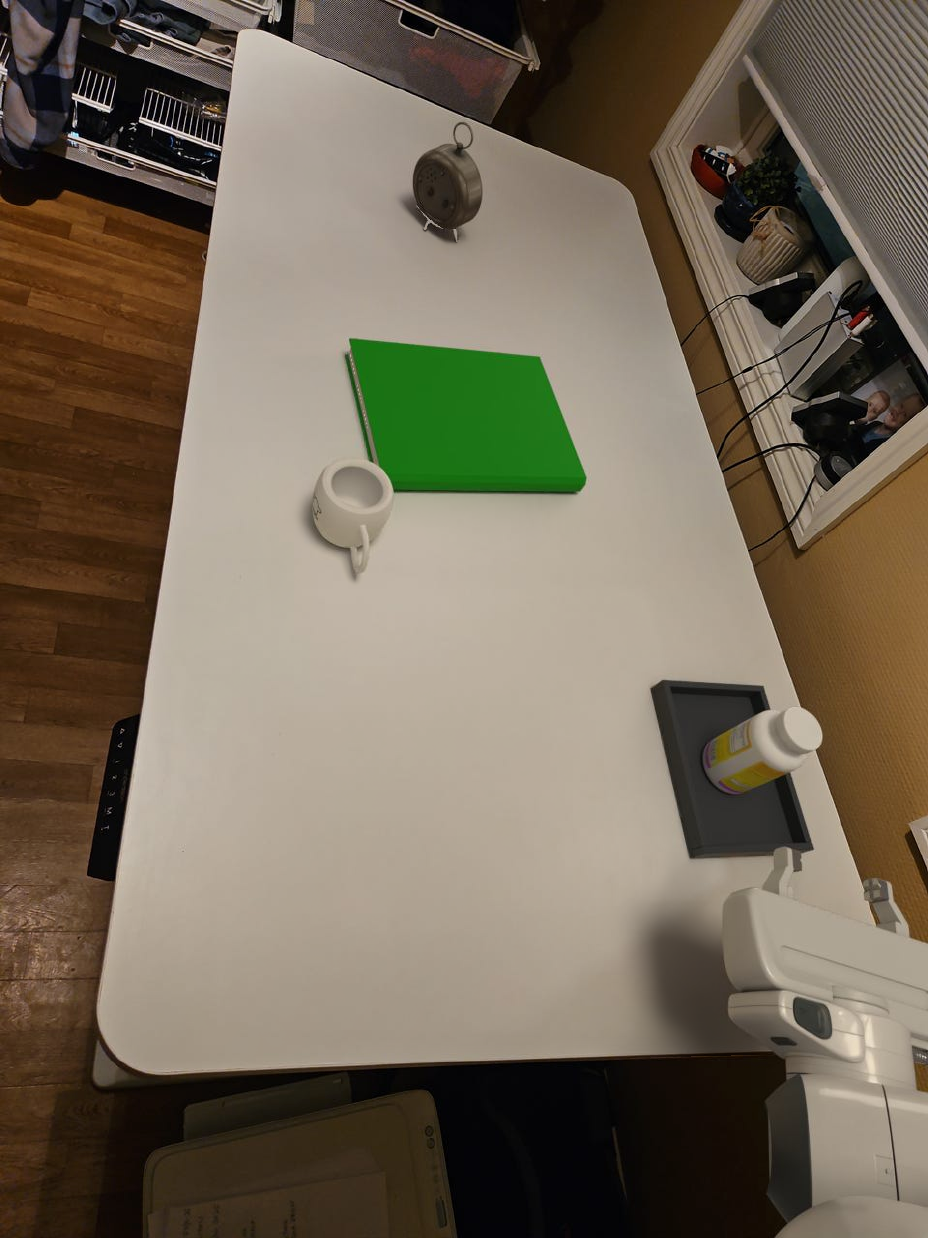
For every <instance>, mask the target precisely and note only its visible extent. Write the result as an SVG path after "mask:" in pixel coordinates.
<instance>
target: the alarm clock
mask: <svg viewBox="0 0 928 1238" xmlns="http://www.w3.org/2000/svg"><path fill="white" fill-rule="evenodd" d="M461 125H463V126H465V127H467V128H468V130H469V132H470V142H469V144H468V145H466V146H464V143H462V142H461V141H460V142H459V141H458V140H457V138H456V137H457V136H456V130H457V129H458V127H459V126H461ZM452 135H453V136H452V137H453V141H454V142H455V144H454V143H444V144H441V145H439V146H437V147H435V148H431V149H429V150H427V151H426V152H423V154H422V155H421V156H420V157H419V158H418V160H417V162H416V163H415V166H414V168H413V174H412V192H413V197H414V200H415V203H416V205H417V206H418V207H419V208H420V210H421V211H422V212H423V213H424V214H425V215H426V216H427V217H428V218H429V219H430V220H432V221H433V222H434V223H435V224H437V225H438V226H440V227H441V228H443V229H445V230H444V231H453V229H456V228H457V229H458V228H460V227H461V226H463V225H465V224H467V223H470V222H471V221H472V220H473V219H475V217H476V216H477V214H478V213H479V211H480V209H481V206H482V202H483V190H484V189H483V181H482V176H481V174H480V171H479V168H478V166H477V164H476V161H475V160H474V159H473V157H472V156H471V155H470V154H469V152H468V151H466V149H468V148H470V147H471V145H472V144H473V141H474V133H473V129H472V127H471V126H470V125H469V123H467V122H466V121H459V122H457V123H456V124H455V125H454V127H453V131H452ZM420 210H419V211H420ZM421 211H420V212H421Z"/></svg>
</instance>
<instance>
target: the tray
mask: <svg viewBox="0 0 928 1238" xmlns="http://www.w3.org/2000/svg"><path fill="white" fill-rule="evenodd" d="M650 691H651V696H652V700H653V705H654V708H655V713H656V717H657V722H658V726H659V730H660V735H661V739H662V743H663V748H664V752H665V757H666V761H667V765H668V770H669V774H670V778H671V783H672V786H673V791H674V795H675V799H676V805H677V808H678V812H679V817H680V823H681V825H682V830H683V834H684V839H685V844H686V847H687V851H688V856H689V859H690V860H692V859H693V860H694V859H717V858H719V859H720V858H721V859H722V858H742V857H743V858H744V857H746V858H747V857H769V856H770V857H771V856H773V857H774V855H773V853H774V851H775V849H777V848H780V847H784V846H785V847H788V848H791V849H794V850H796V851H799V852H800V853H801V854H805V853H808V852H812V851H814V850H815V848H814V844H813V842H812V841H813V840H812V838H811V834H810V831H809V828H808V825H807V822H806V818H805V816H804V815H805V814H804V813H803V809H802V806H801V802H800V800H799V796H798V793H797V789H796V787H795V784H794V780H793V776H792V772H789V773H787V774H785V775H782V776H780V777H778V778H776V779H774V780H771V781H769V782H767V783H764V784H762V785H760V786H758V787H755V788H753V789H751V790H748V791H746V792H743V793H741V794H729V793H726V792H724V791H722V790H720V789H719V788H717V787H716V786H715V785H714V784H713V783H712V782H711V781H710V779H709V778H708V776H707V774H706V772H705V770H704V767H703V761H702V756H703V751H704V749H705V747H706V745H707V744H708V743H709V742H710V741H711V740H713V739H715V738H716V737H718V736H720V735H722V734H723V733H725V732H727V731H728V730H730V729H732V728H734V727H736V726H737V725H739V724H741V723H743V722H745V721H747V720H748V719H750V718H752V717H754V716H755V715H757V714H759V713H761V712H763V711H767V710H772V709H771V707H770V702H769V700H768V697H767V693H766V690H765V687H764V685H759V684H743V683H742V684H741V683H726V682H725V683H723V682H707V681H693V680H692V681H690V680H676V679H675V680H674V679H673V680H672V679H661V680H660V681H659V682H657V683H656V684H655V685H653V686H652V687H650Z"/></svg>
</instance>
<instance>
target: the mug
mask: <svg viewBox="0 0 928 1238" xmlns="http://www.w3.org/2000/svg"><path fill="white" fill-rule="evenodd" d="M394 500H395V493H394V490H393V487H392V484H391V481H390V479H389V477H388V476H387V475H386V473H385V472H384V471H383V470H382V469H381V468H380V467H378V466H377V465H375V464H374V463H372V462H370V460H369V459H368V460H367V459H365V458H360V457H355V456H346V457H341V458H337V459H336V460H333V461H332V462H330V463H329V464H328V465H326V466H325V468H324V469H322V471H321V473H320V474H319V476H318V478H317V480H316V483H315V485H314V489H313V494H312V501H311V502H312V503H311V508H312V509H311V510H312V517H313V521H314V524H315V526H316V528H317V531H318V532H319V533H320V535H321V536H322V537H323V539H325V540H326V541H328V542H329V543H331V544H333V545H335V546H337V547H341V548H347V549H348V548H349V549H350V557H351V563H352V566H353V569H354V572H355V573H358V574H363V573H364V572H365V571H366V569H367V567H368V564H369V559H370V550H371V549H370V545H371V543H370V542H371V541H372V540H374V539H375V538H376V537H377V536H378V535H379V534H380V533H381V532H382V530H383V529H384V527H385V526H386V524H387V522H388V520H389V517H390V515H391V512H392V509H393V504H394ZM358 547H362V556H361V560H360V561H361V562H360V563H359V557H358Z"/></svg>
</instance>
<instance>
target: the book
mask: <svg viewBox="0 0 928 1238" xmlns="http://www.w3.org/2000/svg"><path fill="white" fill-rule="evenodd" d="M348 342H349V346H350V348H349V352H350V353H349V352H348V353H345V355H344V358H345V362H346V366H347V371H348V374H349V379H350V383H351V387H352V392H353V396H354V401H355V404H356V408H357V413H358V417H359V422H360V426H361V431H362V434H363V439H364V443H365V447H366V451H367V456H368V461H370V462H372V463H374V464H375V465H377V466H378V467H380V468H381V469H382V470H383V471H384V472H385V473H386V475H387V476H388V477H389V479H390V481H391V484H392V487H393V491H394V490H395V491H396V490H398V491H399V490H401V491H412V490H413V491H481V492H482V491H483V492H484V491H485V492H486V491H487V492H488V491H489V492H495V491H496V492H566V493H567V492H568V493H569V492H571V493H572V492H576V493H580V492H581V491H582V490H583V489H584V487H585V486H586V484H587V478H588V477H587V475H586V472H585V469H584V467H583V465H582V462H581V459H580V457H579V454H578V451H577V449H576V447H575V444H574V441H573V439H572V437H571V433H570V430H569V428H568V426H567V423H566V420H565V418H564V415H563V412H562V410H561V408H560V405H559V403H558V400H557V397H556V395H555V392H554V390H553V387H552V383H551V382H550V379H549V377H548V374H547V371H546V369H545V366H544V363H543V362H542V359H541V356H537V355H528V354H517V353H506V352H498V351H497V352H495V351H488V350H487V351H485V350H477V349H466V348H465V349H464V348H457V347H456V348H455V347H445V346H435V345H425V344H414V343H404V342H395V341H384V340H373V339H364V338H353V337H349V339H348ZM350 354H351V357H350ZM351 359H352V361H351ZM352 363H353V365H352ZM353 368H354V370H353ZM354 372H355V374H354ZM357 385H358V386H357ZM358 389H359V391H358ZM359 393H360V395H359ZM360 398H361V399H360ZM361 402H362V403H361ZM363 411H364V412H363ZM364 414H365V416H364ZM365 418H366V420H365ZM366 423H367V424H366ZM367 427H368V428H367Z"/></svg>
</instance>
